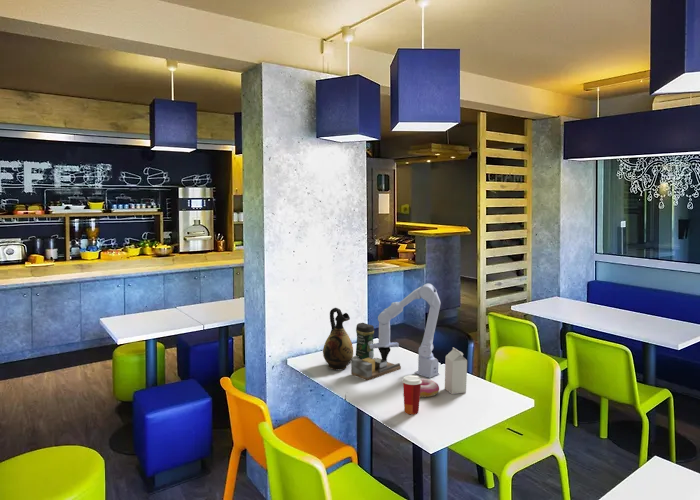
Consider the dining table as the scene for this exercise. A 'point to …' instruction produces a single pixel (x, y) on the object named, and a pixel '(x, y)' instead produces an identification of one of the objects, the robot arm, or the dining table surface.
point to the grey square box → (380, 363)
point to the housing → (370, 362)
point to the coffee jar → (364, 340)
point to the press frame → (370, 369)
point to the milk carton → (455, 372)
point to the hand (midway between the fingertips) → (384, 361)
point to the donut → (428, 388)
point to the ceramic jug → (338, 343)
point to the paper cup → (411, 394)
